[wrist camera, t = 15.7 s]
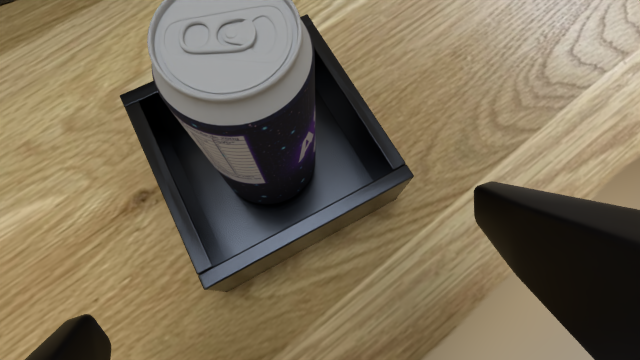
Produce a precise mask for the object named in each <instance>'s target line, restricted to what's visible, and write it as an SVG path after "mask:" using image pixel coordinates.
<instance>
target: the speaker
mask: <svg viewBox="0 0 640 360" xmlns="http://www.w3.org/2000/svg"><path fill="white" fill-rule="evenodd" d="M11 1H14V0H0V4H4V3H7V2H11Z"/></svg>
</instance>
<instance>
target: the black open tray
mask: <svg viewBox="0 0 640 360" xmlns="http://www.w3.org/2000/svg"><path fill="white" fill-rule="evenodd" d="M300 19H301V20H302V22H303V23H304V25H305V26H306V28H307V30H308V31H309V33H310V36H311V38H312V42H313V46H314V53H315V156H316V160H315V168H314V171H313V174H312V176H311V178H310V180H309V182H308V183H307V185H306V186H305V187H304V188H303V189H302V190H301V191H300V192H299V193H298V194H296V195H295V196H293V197H292V198H290V199H288V200H285V201H283V202H279V203H274V204H259V203H254V202H251V201H248V200H246V199H244V198H242V197H240V196H239V195H238V194H236V193H235V192H234V191H233V190H232V189H231V188H230V186H229V185H228V184H227V182H226V181H225V180H224V179H223V177H222V176H221V175H220V173H219V172H218V171H217V170H216V168H215V167H214V166H213V164H212V163H211V162H210V161H209V159H208V158H207V157H206V155H205V154H204V153H203V151H202V150H201V149H200V148H199V146H198V145H197V144H196V142H195V141H194V140H193V139H192V137H191V136H190V135H189V133H188V132H187V131H186V130H185V128H184V127H183V126H182V124H181V123H180V122H179V120H178V119H177V118H176V117H175V115H174V114H173V113H172V111H171V110H170V109H169V108H168V106H167V105H166V104H165V102H164V101H163V100H162V98H161V97H160V95H159V93H158V91H157V89H156V86H155V83H154V81H152V82H150V83H148V84H145V85H143V86H141V87H138V88H136V89H134V90H132V91H129V92H127V93H125V94H122V95H120V98H121V100H122V102H123V105H124V107H125V109H126V111H127V114H128V116H129V118H130V121H131V123H132V125H133V128H134V130H135V132H136V134H137V137H138V139H139V141H140V144H141V146H142V148H143V151H144V153H145V155H146V157H147V160H148V162H149V164H150V167H151V169H152V171H153V174H154V176H155V178H156V181H157V183H158V185H159V187H160V190H161V192H162V194H163V197H164V199H165V201H166V204H167V206H168V208H169V210H170V213H171V215H172V217H173V220H174V222H175V224H176V227H177V229H178V231H179V233H180V236H181V238H182V240H183V243H184V245H185V247H186V250H187V252H188V254H189V257H190V259H191V261H192V263H193V266H194V268H195V270H196V273H197V274H198V275H199V279H200V281H201V284H202V286H203V288H204V290H212V291H223V292H228V291H230V290H232V289H234V288H235V287H237V286H239V285H241V284H243V283H245V282H246V281H248V280H250V279H252V278H254V277H255V276H257V275H259V274H261V273H263V272H265V271H266V270H268V269H270V268H272V267H274V266H275V265H277V264H279V263H281V262H283V261H285V260H286V259H288V258H290V257H292V256H294V255H295V254H297V253H299V252H301V251H303V250H305V249H306V248H308V247H310V246H312V245H314V244H315V243H317V242H319V241H321V240H323V239H325V238H326V237H328V236H330V235H332V234H334V233H335V232H337V231H339V230H341V229H343V228H345V227H346V226H348V225H350V224H352V223H354V222H355V221H357V220H359V219H361V218H363V217H365V216H366V215H368V214H370V213H372V212H374V211H375V210H377V209H379V208H381V207H383V206H385V205H386V204H388V203H390V202H392V201H394V200H395V199H396V198H397V197H398V196H399V194H400V193H401V192H402V191H403V189H404V188H405V187H406V185H407V184H408V183H409V182H410V180H411V179H412V178H413V177H414V175H413V174H412V172H411V171H410V169H409V168H408V166H407V165H406V164H405V161H404V160H403V158H402V157H401V155H400V154H399V152H398V151H397V149H396V148H395V146H394V145H393V143H392V142H391V140H390V139H389V137H388V136H387V134H386V133H385V131H384V130H383V128H382V127H381V125H380V124H379V122H378V121H377V119H376V118H375V116H374V115H373V113H372V112H371V110H370V109H369V107H368V106H367V104H366V103H365V101H364V100H363V98H362V97H361V95H360V94H359V92H358V90H357V89H356V87H355V86H354V84H353V83H352V81H351V80H350V78H349V77H348V75H347V74H346V72H345V71H344V69H343V68H342V66H341V65H340V63H339V62H338V60H337V59H336V57H335V56H334V54H333V53H332V51H331V50H330V48H329V47H328V45H327V44H326V42H325V41H324V39H323V38H322V36H321V35H320V33H319V32H318V30H317V29H316V27H315V26H314V25H313V22H312V21H311V19H310V18H309V16H308V15H304V16H302V17H300Z"/></svg>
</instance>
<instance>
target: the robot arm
mask: <svg viewBox="0 0 640 360" xmlns="http://www.w3.org/2000/svg"><path fill="white" fill-rule="evenodd" d="M474 215H475V219H476V222H477V224H478V225H479V227H480V228H481V229H482V231H483V232H484V233H485V235H486V236H487V237H488V239H489V240H490V241H491V243H492V244H493V245H494V247H495V248H496V249H497V251H498V252H499V253H500V255H501V256H502V257H503V259H504V260H505V261H506V263H507V264H508V265H509V267H510V268H511V269H512V270H513V272H514V273H515V274H516V275H517V276H518V277H519V278H520V280H521V281H522V282H523V283H524V284H525V285H526V286H527V287H528V288H529V289H530V291H531V292H533V294H534V295H535V296H536V297H537V298H538V299H539V300H540V301H541V302H542V303H543V305H544V306H545V307H546V308H547V309H548V310H549V311H550V312H551V313H552V314H553V315H554V316H555V317H556V318H557V320H558V321H559V322H560V323H561V324H562V325H563V326H564V327H565V328H566V329H567V330H568V331H569V332H570V334H571V335H572V336H573V337H574V338H575V339H576V340H577V341H578V342H579V343H580V344H581V345H582V346H583V348H584V349H585V350H586V351H587V352H588V353H589V354H590V355H591V356H592V357H593V358H594V359H595V360H640V210H637V209H632V208H627V207H621V206H616V205H611V204H606V203H600V202H596V201H591V200H586V199H580V198H575V197H570V196H565V195H560V194H555V193H549V192H544V191H539V190H534V189H529V188H524V187H518V186H513V185H508V184H503V183H498V182H488V183H485V184H482V185H479V186H477V187H476V188H475V190H474ZM110 357H111V343H110V340H109V338H108V337H107V335H106V334H105V332H104V331H103V330H102V328H101V327H100V326H99V324H98V323H97V321H96V320H95V319H94V318H93V317H92V316H91V315H89V314H84V315H81V316H78V317H75V318H72V319H69V320H67V321H66V322H64V323H63V324H62V325H61V326H60V327H59V328H58V329H57V330H56V331H55V332H54V333H53V334H52V335H51V336H49V337H48V338H47V339H46V340H45V341H44V342H43V343H42V344H41V345H40V346H39V347H38V348H37V349H36V350H34V351H33V352H32V353H31V354H30V355H29V356H28V357H27V358H26V359H25V360H110Z"/></svg>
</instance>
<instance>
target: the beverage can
mask: <svg viewBox="0 0 640 360" xmlns="http://www.w3.org/2000/svg"><path fill="white" fill-rule="evenodd" d="M147 43H148V51H149V55H150V58H151V61H152V74H153V80H154V83H155V86H156V89H157V91H158V93H159V95H160V97H161V98H162V100H163V101H164V102H165V104H166V105H167V106H168V108H169V109H170V110H171V111H172V113H173V114H174V115H175V117H176V118H177V119H178V120H179V122H180V123H181V124H182V126H183V127H184V128H185V130H186V131H187V132H188V133H189V135H190V136H191V137H192V139H193V140H194V141H195V142H196V144H197V145H198V146H199V148H200V149H201V150H202V151H203V153H204V154H205V155H206V157H207V158H208V159H209V161H210V162H211V163H212V164H213V166H214V167H215V168H216V170H217V171H218V172H219V173H220V175H221V176H222V177H223V179H224V180H225V181H226V182H227V184H228V185H229V186H230V188H231V189H232V190H233V191H234V192H235V193H236V194H238V195H239V196H240V197H242V198H244V199H246V200H248V201H251V202H254V203H259V204H274V203H279V202H283V201H285V200H288V199H290V198H292V197H293V196H295V195H296V194H298V193H299V192H300V191H301V190H302V189H303V188H304V187H305V186H306V185H307V183H308V182H309V180H310V178H311V176H312V174H313V171H314V168H315V160H316V156H315V53H314V46H313V42H312V38H311V36H310V33H309V31H308V30H307V28H306V26H305V25H304V23H303V22H302V20H301V19H300V15H299V13H298V11H297V9H296V7H295V5H294V3H293V2H292V0H164V1H163V2H162V3H161V4H160V6H159V7H158V9H157V10H156V12H155V13H154V16H153V18H152V20H151V22H150V26H149V30H148V41H147Z"/></svg>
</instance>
